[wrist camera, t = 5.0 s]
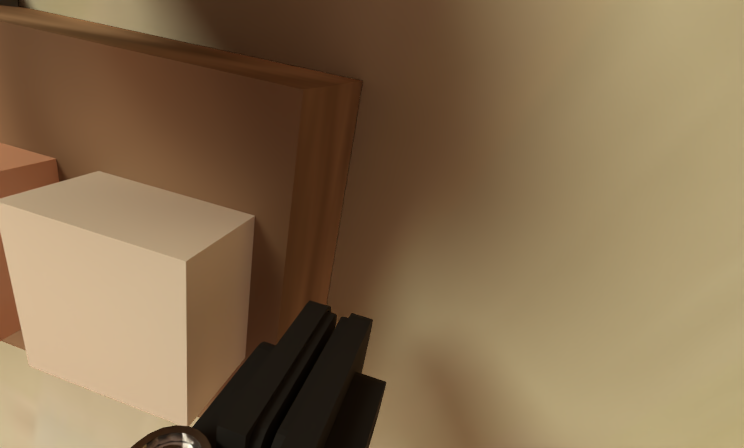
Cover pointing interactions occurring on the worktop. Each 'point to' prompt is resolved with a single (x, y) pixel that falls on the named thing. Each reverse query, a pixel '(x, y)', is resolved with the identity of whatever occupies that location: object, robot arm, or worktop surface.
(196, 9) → the worktop surface
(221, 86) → the wooden square board
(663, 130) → the worktop surface
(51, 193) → the tile
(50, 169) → the tile
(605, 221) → the worktop surface
